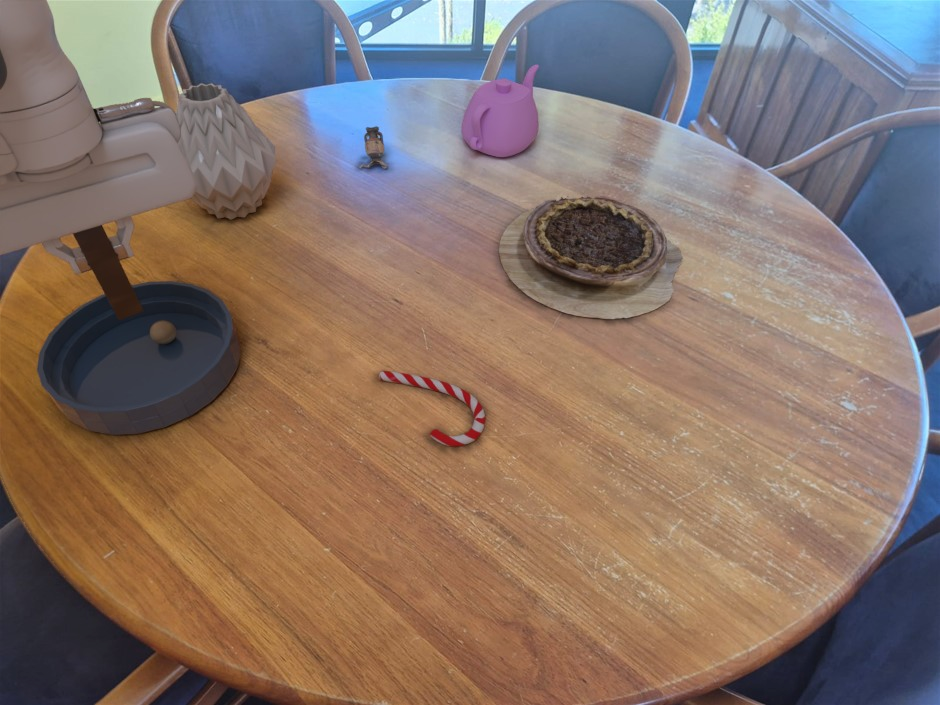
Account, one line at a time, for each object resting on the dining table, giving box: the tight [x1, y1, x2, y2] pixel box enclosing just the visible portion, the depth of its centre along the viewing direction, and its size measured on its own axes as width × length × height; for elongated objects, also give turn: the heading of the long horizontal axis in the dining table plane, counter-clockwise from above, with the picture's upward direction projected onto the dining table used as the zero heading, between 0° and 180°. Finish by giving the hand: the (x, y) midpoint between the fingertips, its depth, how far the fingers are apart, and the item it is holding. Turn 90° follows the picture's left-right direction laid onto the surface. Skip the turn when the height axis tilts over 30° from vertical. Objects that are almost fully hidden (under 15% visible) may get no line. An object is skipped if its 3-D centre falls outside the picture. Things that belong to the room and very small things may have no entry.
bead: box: [150, 320, 176, 344], centre depth 78 cm, size 3×3×3 cm
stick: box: [72, 225, 143, 320], centre depth 58 cm, size 2×2×14 cm
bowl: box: [36, 280, 242, 436], centre depth 75 cm, size 21×21×5 cm
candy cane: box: [378, 370, 486, 447], centre depth 73 cm, size 8×1×15 cm
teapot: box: [460, 64, 540, 158], centre depth 113 cm, size 20×13×12 cm, turn 144°
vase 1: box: [175, 82, 277, 221], centre depth 94 cm, size 16×16×18 cm
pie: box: [498, 195, 683, 320], centre depth 93 cm, size 28×27×5 cm
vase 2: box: [358, 126, 390, 170], centre depth 109 cm, size 5×5×6 cm
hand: (104, 262), depth 58 cm, fingers closed on stick, 2 cm apart
